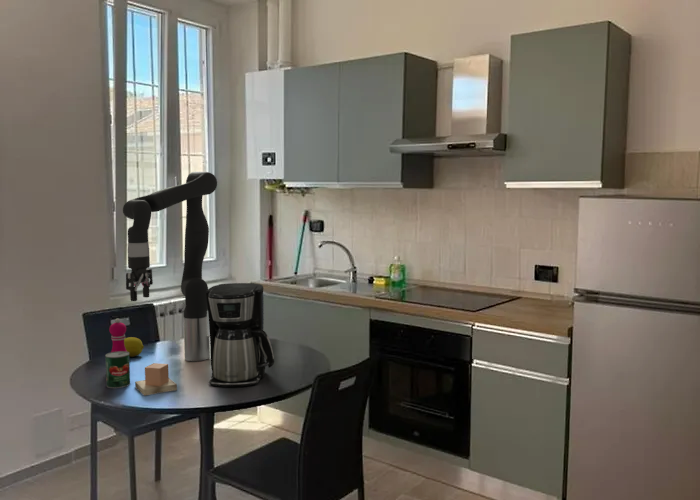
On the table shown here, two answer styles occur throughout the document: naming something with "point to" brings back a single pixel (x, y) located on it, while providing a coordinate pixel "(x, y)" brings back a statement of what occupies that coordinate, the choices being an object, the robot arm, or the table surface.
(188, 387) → the table surface
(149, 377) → the cardboard cube
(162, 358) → the table surface
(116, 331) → the pepper mill
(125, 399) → the table surface
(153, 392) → the post base
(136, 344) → the lemon
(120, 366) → the canned tomato
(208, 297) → the coffee maker
